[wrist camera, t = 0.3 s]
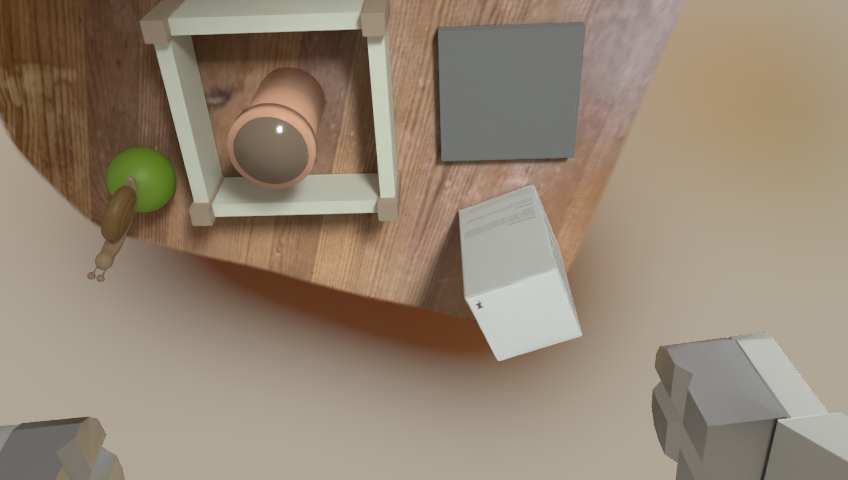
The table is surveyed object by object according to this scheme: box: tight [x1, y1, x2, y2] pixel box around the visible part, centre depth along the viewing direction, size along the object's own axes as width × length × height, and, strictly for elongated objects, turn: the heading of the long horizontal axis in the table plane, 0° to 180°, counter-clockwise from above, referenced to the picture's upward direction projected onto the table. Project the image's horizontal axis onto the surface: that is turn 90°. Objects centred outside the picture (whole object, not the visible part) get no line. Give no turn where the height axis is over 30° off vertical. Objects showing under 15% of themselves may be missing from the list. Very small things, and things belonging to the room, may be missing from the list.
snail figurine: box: [88, 147, 177, 282], centre depth 57 cm, size 5×6×12 cm
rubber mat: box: [438, 22, 585, 161], centre depth 57 cm, size 11×11×1 cm
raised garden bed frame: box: [139, 0, 401, 226], centre depth 56 cm, size 17×17×6 cm
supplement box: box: [459, 184, 582, 361], centre depth 60 cm, size 7×7×13 cm
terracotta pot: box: [227, 67, 325, 189], centre depth 55 cm, size 6×6×9 cm
